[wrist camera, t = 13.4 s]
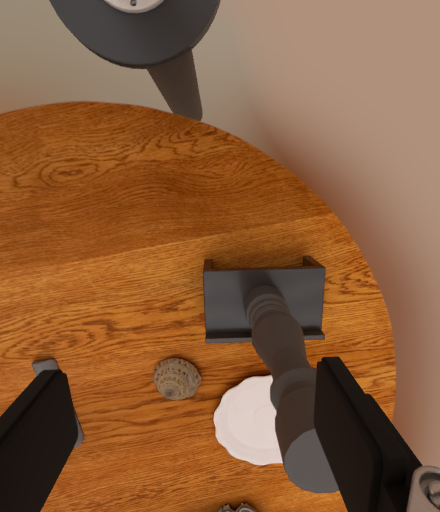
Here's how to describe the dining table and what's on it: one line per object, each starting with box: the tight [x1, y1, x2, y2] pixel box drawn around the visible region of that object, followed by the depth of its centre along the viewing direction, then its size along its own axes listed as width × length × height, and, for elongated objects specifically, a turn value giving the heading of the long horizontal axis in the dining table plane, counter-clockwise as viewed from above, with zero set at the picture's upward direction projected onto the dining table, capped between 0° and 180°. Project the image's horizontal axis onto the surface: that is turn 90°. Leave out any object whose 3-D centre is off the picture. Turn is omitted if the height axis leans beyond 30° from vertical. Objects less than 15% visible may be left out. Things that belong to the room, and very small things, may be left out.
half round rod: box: [31, 359, 84, 449], centre depth 54 cm, size 4×20×2 cm, turn 10°
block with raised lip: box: [203, 256, 325, 343], centre depth 46 cm, size 11×18×8 cm, turn 92°
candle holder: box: [244, 285, 339, 493], centre depth 31 cm, size 6×6×25 cm
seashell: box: [154, 358, 201, 400], centre depth 53 cm, size 8×6×8 cm
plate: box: [213, 375, 283, 465], centre depth 56 cm, size 21×21×2 cm
